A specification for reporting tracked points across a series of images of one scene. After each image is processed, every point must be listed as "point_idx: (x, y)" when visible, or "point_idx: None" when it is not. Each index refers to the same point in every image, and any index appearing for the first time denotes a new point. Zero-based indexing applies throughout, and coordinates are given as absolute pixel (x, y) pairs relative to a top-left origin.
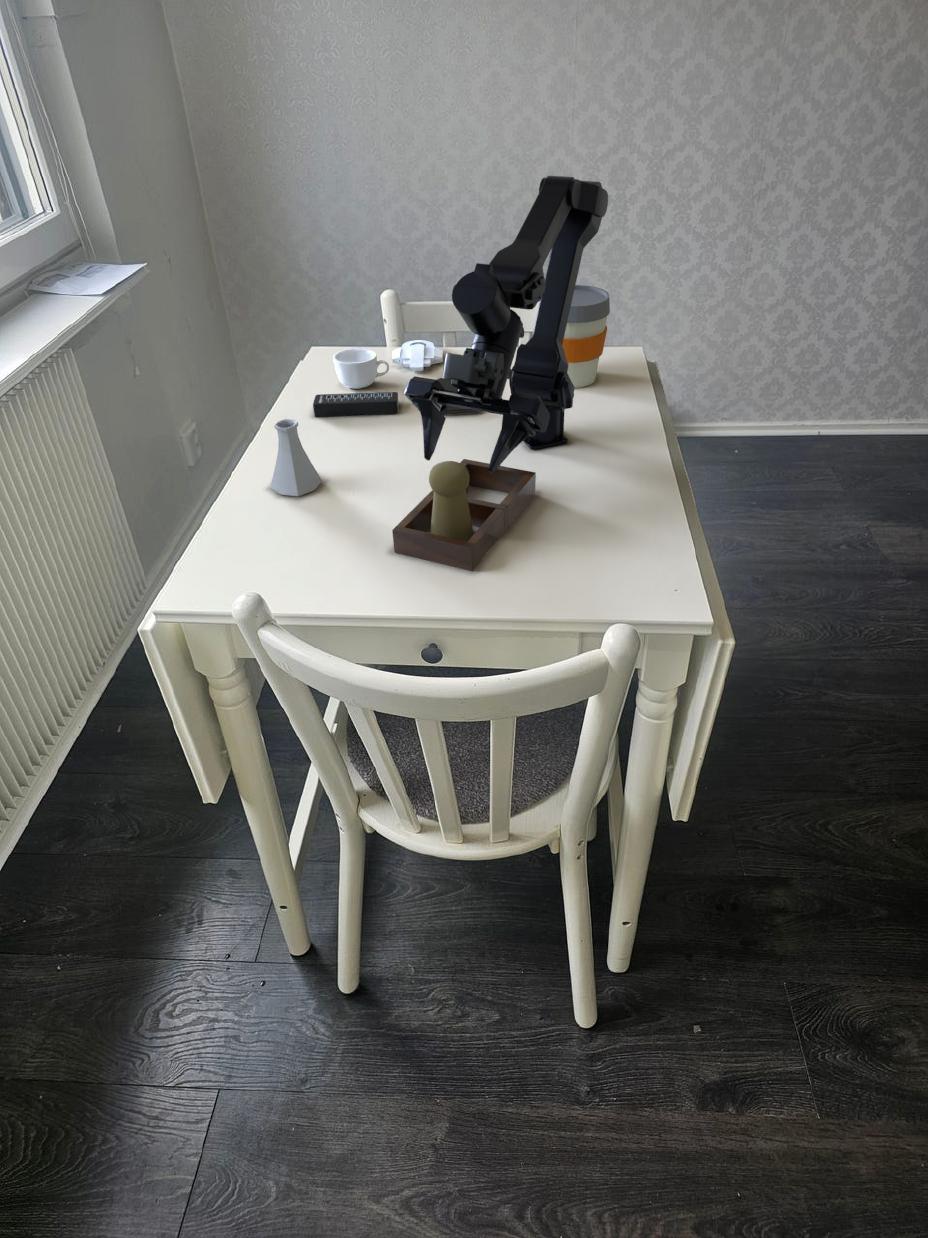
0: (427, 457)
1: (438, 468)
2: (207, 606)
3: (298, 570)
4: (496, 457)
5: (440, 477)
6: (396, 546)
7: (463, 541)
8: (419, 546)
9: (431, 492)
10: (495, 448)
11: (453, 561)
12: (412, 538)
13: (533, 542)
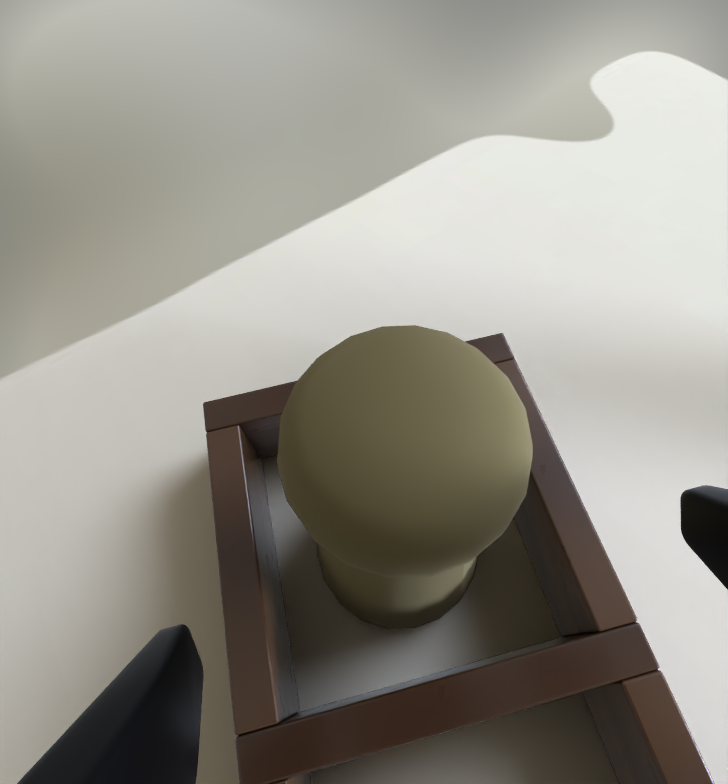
0: (687, 502)
1: (441, 359)
2: (604, 76)
3: (597, 207)
4: (93, 708)
5: (378, 329)
6: None
7: (251, 416)
8: None
9: (641, 644)
10: (84, 768)
11: None
12: None
13: None
